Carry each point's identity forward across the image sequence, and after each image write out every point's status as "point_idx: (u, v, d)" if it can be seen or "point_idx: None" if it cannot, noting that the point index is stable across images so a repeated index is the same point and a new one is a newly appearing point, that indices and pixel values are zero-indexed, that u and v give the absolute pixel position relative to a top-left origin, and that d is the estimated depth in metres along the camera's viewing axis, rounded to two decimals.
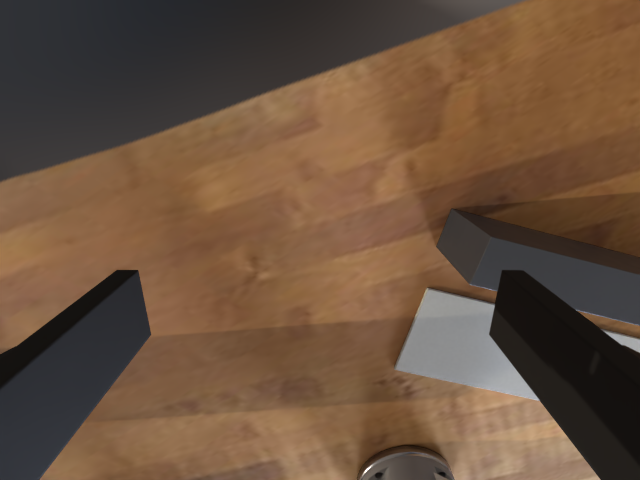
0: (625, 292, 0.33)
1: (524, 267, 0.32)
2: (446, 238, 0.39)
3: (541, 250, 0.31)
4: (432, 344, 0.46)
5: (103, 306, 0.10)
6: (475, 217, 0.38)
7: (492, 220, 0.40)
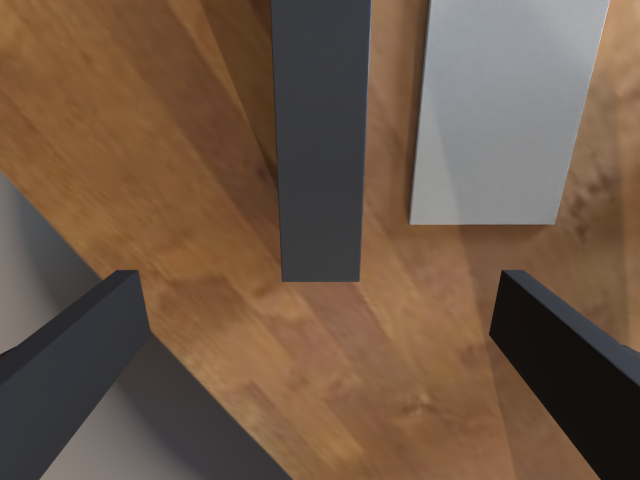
0: (312, 16, 0.17)
1: (312, 219, 0.21)
2: None
3: (280, 206, 0.20)
4: (503, 185, 0.29)
5: (103, 306, 0.10)
6: None
7: None
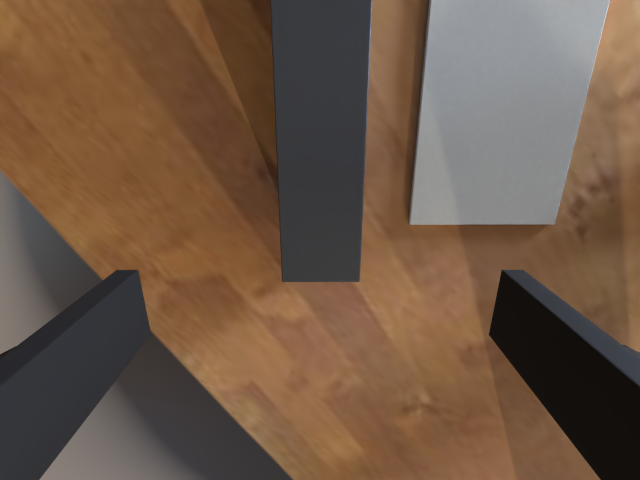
0: (312, 16, 0.17)
1: (313, 219, 0.21)
2: None
3: (280, 206, 0.20)
4: (503, 185, 0.29)
5: (103, 306, 0.10)
6: None
7: None
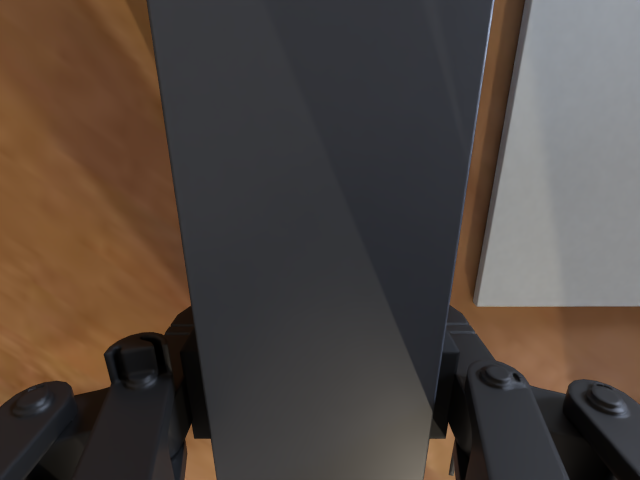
0: None
1: (298, 404, 0.07)
2: None
3: (205, 375, 0.07)
4: None
5: None
6: None
7: None
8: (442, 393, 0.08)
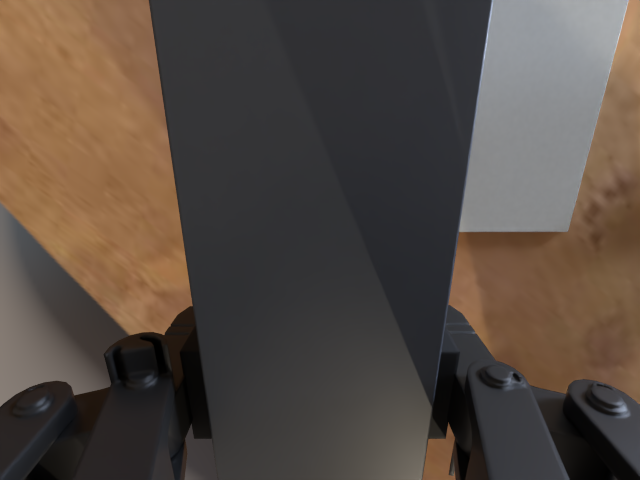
0: None
1: (298, 402, 0.07)
2: None
3: (206, 373, 0.07)
4: (513, 190, 0.27)
5: None
6: None
7: None
8: (442, 393, 0.08)
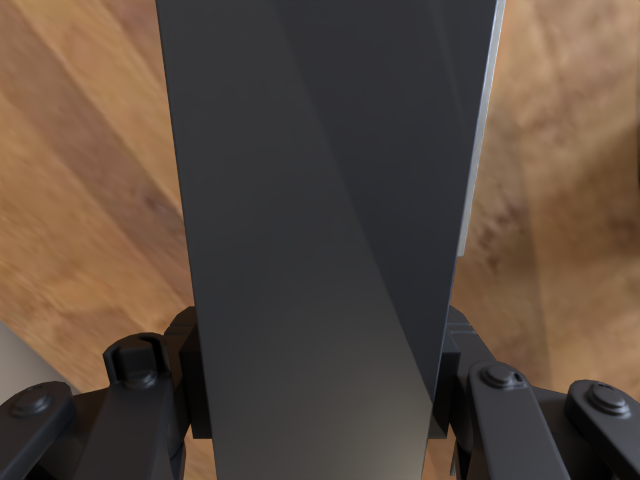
0: None
1: (299, 401, 0.07)
2: None
3: (207, 372, 0.07)
4: None
5: None
6: None
7: None
8: (443, 393, 0.08)
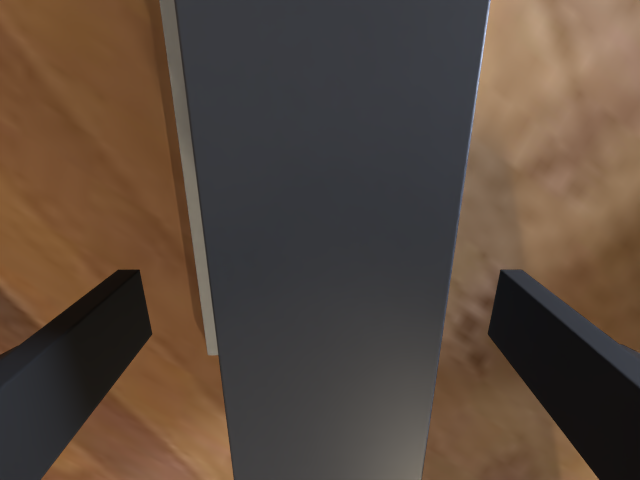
0: None
1: (308, 370, 0.08)
2: None
3: (220, 342, 0.08)
4: None
5: (105, 306, 0.10)
6: None
7: None
8: None
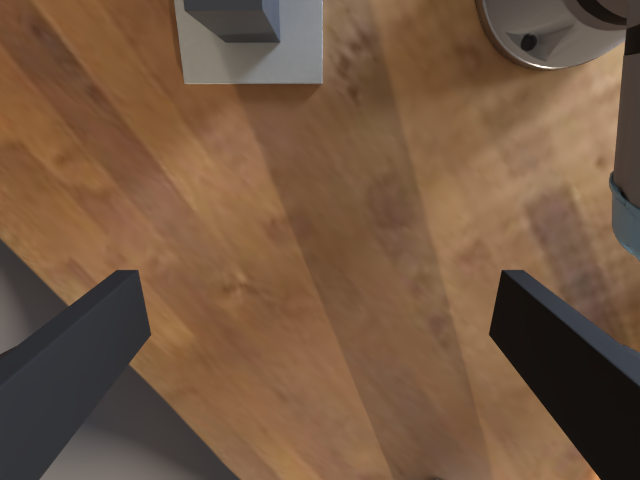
0: None
1: None
2: (257, 38, 0.29)
3: None
4: None
5: (104, 306, 0.10)
6: None
7: None
8: None
